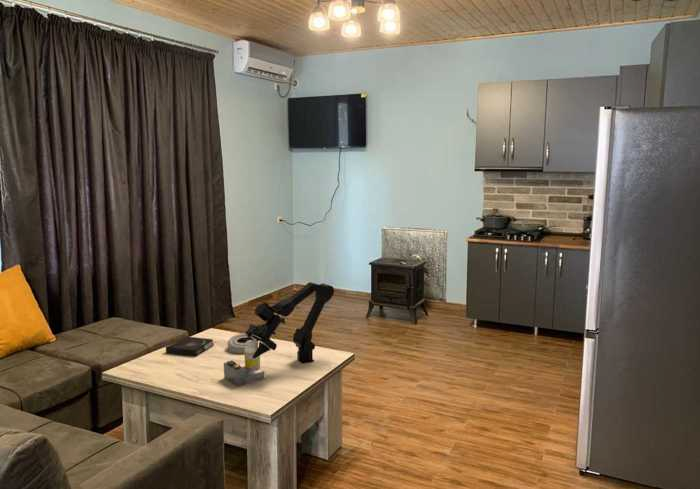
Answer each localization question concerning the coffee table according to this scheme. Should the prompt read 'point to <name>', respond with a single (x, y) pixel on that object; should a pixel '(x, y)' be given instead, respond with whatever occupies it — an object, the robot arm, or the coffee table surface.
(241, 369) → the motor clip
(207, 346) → the portable cd player
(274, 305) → the robot arm
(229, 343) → the turbocharger housing
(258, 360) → the supplement bottle
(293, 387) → the coffee table surface
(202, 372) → the coffee table surface
